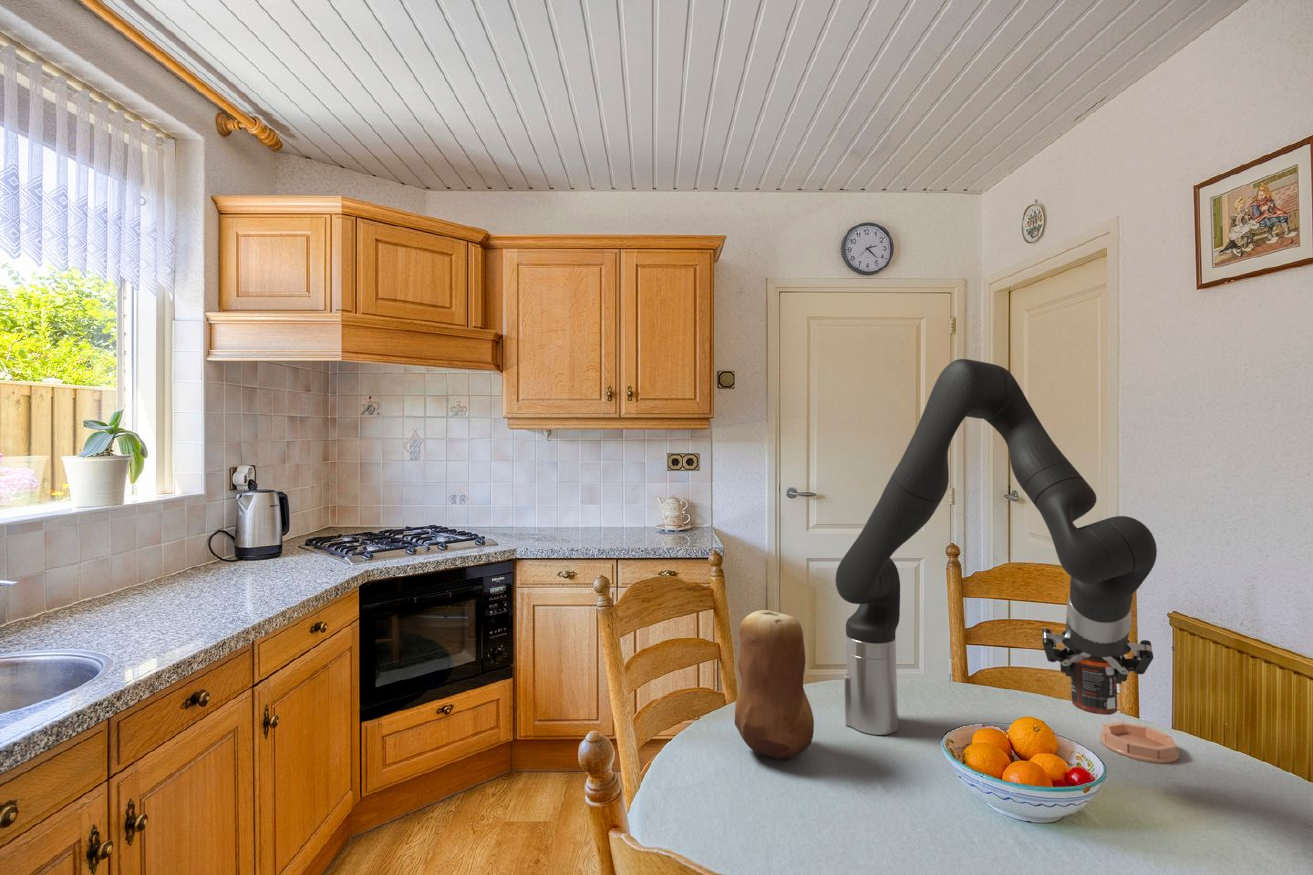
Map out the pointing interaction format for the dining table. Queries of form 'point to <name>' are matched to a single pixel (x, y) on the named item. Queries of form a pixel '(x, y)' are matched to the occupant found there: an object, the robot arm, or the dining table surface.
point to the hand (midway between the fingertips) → (1092, 674)
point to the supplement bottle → (1094, 686)
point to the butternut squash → (773, 686)
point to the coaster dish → (1139, 742)
